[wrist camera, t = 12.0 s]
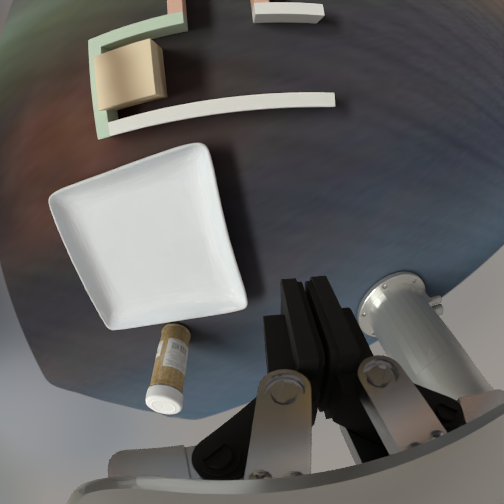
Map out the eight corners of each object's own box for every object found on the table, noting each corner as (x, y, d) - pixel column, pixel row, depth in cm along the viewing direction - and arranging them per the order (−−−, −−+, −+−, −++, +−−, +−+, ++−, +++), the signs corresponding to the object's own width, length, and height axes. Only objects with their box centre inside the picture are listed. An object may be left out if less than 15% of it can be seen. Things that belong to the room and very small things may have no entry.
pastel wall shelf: (306, -31, 18) (312, -42, 15) (326, 107, 27) (335, 106, 24) (99, 0, 18) (89, -7, 15) (109, 136, 27) (98, 139, 24)
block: (162, 49, 23) (150, 38, 18) (167, 97, 26) (155, 94, 21) (113, 63, 23) (93, 57, 18) (118, 110, 26) (98, 110, 21)
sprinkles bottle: (156, 328, 40) (137, 400, 28) (179, 317, 39) (164, 393, 27) (174, 346, 42) (162, 418, 30) (197, 337, 41) (189, 411, 29)
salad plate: (209, 136, 28) (206, 138, 25) (248, 295, 38) (250, 311, 35) (57, 189, 29) (43, 197, 26) (115, 317, 39) (109, 332, 36)
